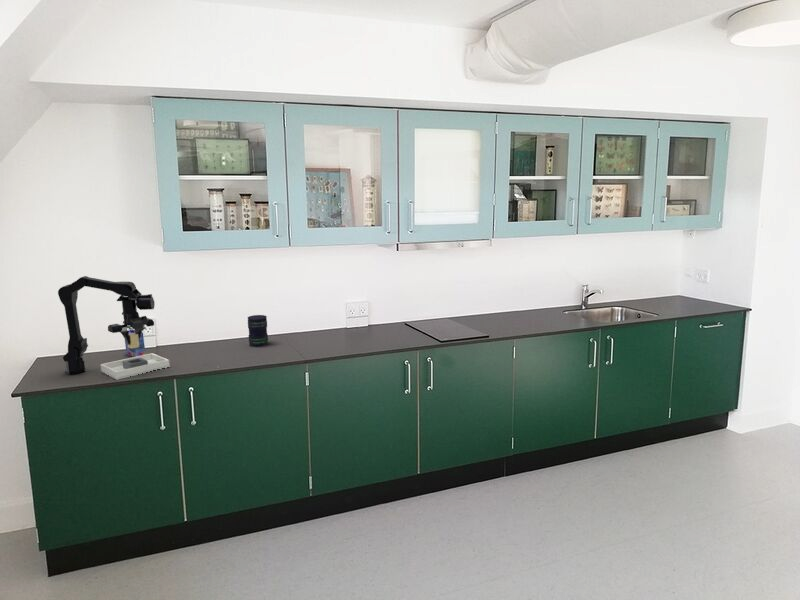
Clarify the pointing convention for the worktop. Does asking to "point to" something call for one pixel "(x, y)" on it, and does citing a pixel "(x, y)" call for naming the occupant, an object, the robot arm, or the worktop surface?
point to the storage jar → (257, 331)
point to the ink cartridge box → (139, 350)
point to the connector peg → (133, 340)
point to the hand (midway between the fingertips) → (133, 343)
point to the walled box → (134, 366)
